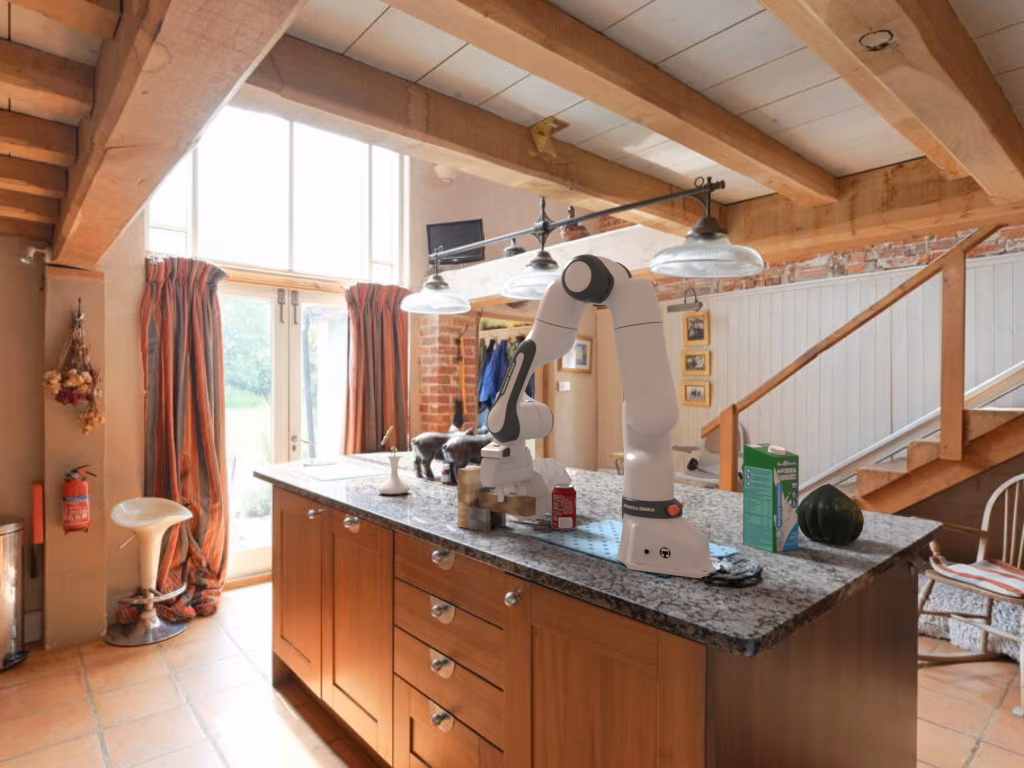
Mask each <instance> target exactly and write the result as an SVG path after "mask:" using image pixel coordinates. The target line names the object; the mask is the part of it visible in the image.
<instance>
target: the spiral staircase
mask: <svg viewBox="0 0 1024 768" xmlns="http://www.w3.org/2000/svg"><path fill="white" fill-rule="evenodd" d="M532 461H533V477H532V479H530V480H525V481H521V485H520V488H519V491H518V495H522V496H529V497H536V515H532V516H529V517H524V516H518V515H512V514H508V515H509V516H512V517H514V518H517V522H518V521H519V522H525V521H529V520H530V521H531V522H532V523H534V522H535V521H536V520H537V519H538V520H540V519H541V518H543V517H544V516H545V515H547V514H548V513H551V514H552V490H553V489H554V485H555V484H571V483H572V482H573V479H572V478H571V476H570V475H569V473H568V472H567V470H566V469H567V466H565V465H563V464H562V463H560V462H558V461H557V460H555V458H554V457H545V458H542V457H541V455H538V456H536V458H534V459H532ZM512 486H513V485H512V483H511V484H507V485H505V488H504V489H503V490H504V493H507V494H509V492H511V490H512ZM519 522H518V523H519Z"/></svg>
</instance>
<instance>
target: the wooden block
mask: <svg viewBox="0 0 1024 768" xmlns="http://www.w3.org/2000/svg"><path fill="white" fill-rule="evenodd" d="M504 494H505V495H506V501H504V502H499V501H498V495H497V492H496V491H492V490H490V487H484V488H479V507H483V508H490V511H494V512H500V513H506V515H509V514H512V515H518V516H524V517H529V516H532V515H536V497H529V496H522V495H514V494H507V493H504Z"/></svg>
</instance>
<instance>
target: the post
mask: <svg viewBox="0 0 1024 768" xmlns="http://www.w3.org/2000/svg"><path fill="white" fill-rule="evenodd" d="M480 476H481V465H476V466H474V465H473V466H469V467H463V468H458V469H457V524H456V525H457V528H461V527H463V528H462V529H466V528H469V530H472V529H475V530H474V531H477V530H481V531H480V532H483V531H488V532H490V531H491V526H493V525H496V526H495V527H499V526H501V527H500V528H503V527H506V526H507V525H506V524H507V522H506V520H507V517H506V515H507V514H506V513H500V512H494V511H490V508H483V507H479V488H484V487H485V486H483V485H482V483H481V477H480ZM490 524H491V525H490ZM505 525H506V526H505ZM502 526H503V527H502ZM489 530H490V531H489Z"/></svg>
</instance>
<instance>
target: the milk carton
mask: <svg viewBox="0 0 1024 768" xmlns="http://www.w3.org/2000/svg"><path fill="white" fill-rule="evenodd" d="M799 458H800V456H799V454H796V453H794V452H791V451H789V450H787V448H786V447H783V446H779V445H776V444H771V443H769V442H767V443H751V444H750V443H749V444H748V443H746V444H743V465H742V467H743V469H742V470H743V472H742V473H743V475H742V476H743V480H742V483H743V484H742V485H743V487H742V488H743V491H742V492H743V493H742V495H743V496H742V500H743V501H742V502H743V503H742V506H743V507H742V509H743V513H742V515H743V517H742V519H743V520H742V524H743V525H742V534H743V535H742V543H743V545H746V546H750V547H752V548H756V549H759V550H762V551H766V552H769V553H774V554H775V553H780V552H786V551H790V550H791V551H792V550H796V549H799V546H800V543H799V541H800V540H799V537H800V536H799V533H800V532H799V531H800V530H799V529H800V527H799V505H800V503H799V499H800V498H799V493H800V489H799V488H800V487H799V486H800V484H799V482H800V481H799V480H800V475H799V473H800V469H799V467H800V466H799V465H800V459H799Z"/></svg>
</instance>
